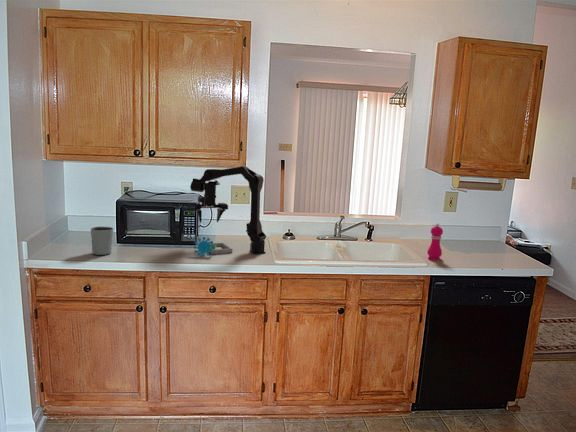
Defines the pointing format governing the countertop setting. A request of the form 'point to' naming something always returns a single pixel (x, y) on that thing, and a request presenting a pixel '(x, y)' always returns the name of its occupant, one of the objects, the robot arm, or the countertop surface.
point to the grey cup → (101, 240)
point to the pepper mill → (435, 243)
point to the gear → (204, 246)
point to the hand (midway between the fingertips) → (209, 222)
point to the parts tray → (221, 251)
